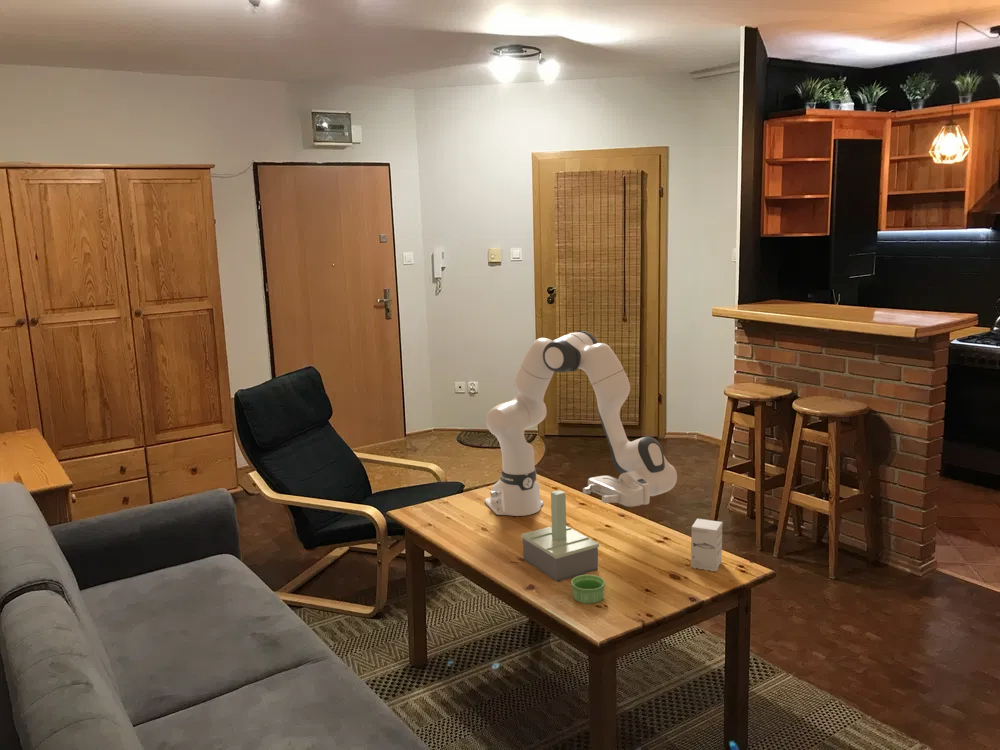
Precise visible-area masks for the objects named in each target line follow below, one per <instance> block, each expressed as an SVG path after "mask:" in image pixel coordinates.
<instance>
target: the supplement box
mask: <svg viewBox="0 0 1000 750" xmlns="http://www.w3.org/2000/svg"><path fill="white" fill-rule="evenodd" d="M690 539H691V540H690V541H691V545H690V546H691V547H690V549H691V550H690V568H691V569H696V568H698V569H697V570H702V569H704V570H703V571H708V570H710V571H709V572H713V571H716V572H717V571H718V570H719V568H720V566H721V563H722V554H723V521H717V520H710V519H705V518H703V519H702V518H696V520H695V521H694V523H693V524H692V525H691V538H690ZM719 565H720V566H719ZM692 567H693V568H692ZM718 567H719V568H718Z"/></svg>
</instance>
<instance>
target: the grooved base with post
mask: <svg viewBox="0 0 1000 750" xmlns="http://www.w3.org/2000/svg"><path fill="white" fill-rule="evenodd" d="M566 497H567V496H566V492H565V491H562V490H560V489H558V490H553V491H551V492H550V509H551V510H550V511H551V526H548V527H544V528H539V529H536V530H532V531H528V532H524V533H521V534H520V537H521V539H522V540H523V539H525V540H526V541H528V542H530V543H531V544H533V545H534V546H536V547H538V548H539V549H541V550H543V551H544V552H546V553H547V554H549V555H551V556H552V557H554V558H555V559H557V558H561V557H564V556H568V555H572V554H575V553H579V552H582V551H586V550H589V549H593V548H597V547H598V548H600V543H599V542H597V541H596V540H594V539H591V538H590V537H589V536H586V535H584V534H582V533H581V532H579V531H576V530H575V529H574V528H572V527H570V526H568V525H567V504H566V503H567V502H566Z"/></svg>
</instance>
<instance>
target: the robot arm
mask: <svg viewBox="0 0 1000 750" xmlns="http://www.w3.org/2000/svg"><path fill="white" fill-rule="evenodd" d="M578 369H580V370H582V371H583V372H584V373H585V375H586V376H587V378H588V380H589V382H590V385H591V386H592V388H593V391H594V394H595V398H596V401H597V402H596V403H597V404H596V405H597V406H596V408H597V413H598V417H599V420H600V423H601V426H602V428H603V431H604V434H605V437H606V440H607V443H608V446H609V449H610V457H611V463H612V464H613V465H612V466H613V467H614V469H615V470H616V471H617V473H620V475H619V476H618V478H616V477H613V476H611V475H600V476H599V475H598V476H593V477H589V478H587V486H586V487H585V486H584V487H583V488H582V493H583V495H590V494H591V492H592V493H595V494H598V495H599V496H601V502H602V503H604V504H610V503H613V504H614V503H615V504H616V503H617V504H620V505H622V506H624V507H629V508H632V507H638V506H642V505H643V506H645V505H649V504H650V501H651V499H650V498H651V497H655V496H658V495H662V494H664V493H667V492H670V491H671V490H672V489H673V488H675V485H676V484H677V482H678V473H677V470H676V468H675V467H674V466H673V465H672V464H671V463H669V462H668V460H667V458H666V457H665V454H664V451H663V448H662V445H661V443H660V442H659V440H657V439H656V438H654V437H652V436H647V435H646V436H643V437H640V438H637V439H635V440H632V441H630V440H629V439H628V437H627V435H626V431H625V429H624V426H623V423H622V420H621V416H620V415H621V408H622V406H623V405H624V404H625V402H626V401H627V399H628V397H629V395H630V392H631V385H630V379H629V377H628V376H627V373H626V372H625V370H624V367H623V365H622V362H621V361H620V360H619V358H618V356H617V355H616V354H615V351H614V350H613V349H612V348H611V346H610V345H608V344H607V343H603V342H598V341H597V339H596V337H595V336H594V335H593V334H592V333H590V332H588V331H586V330H585V331H584V330H578V331H577V330H576V331H574V332H570V333H567V334H566V333H565V334H564V335H562V336H560V337H557V338H556V339H553V340H552V339H550V338H546V337H540V338H537V339H536V340H534V341H533V343H532V344H531V345H530V346H529V348H528V350H527V351H526V353H525V355H524V357H523V359H522V361H521V364H520V366H519V369H518V371H517V373H516V374H515V375H516V376H515V378H514V380H513V385H514V388H515V390H516V395H515V397H514V398H512V400H509V401H506V402H501V403H499V404H497V405H496V406H493V407H492V408H491V409H489V410H488V412H487V413H486V417H485V425H486V427H487V430H488V431H489V433H491V434H492V435H493V436H494V437H495V438H496V439H497V441H498V442H499V447H500V451H501V459H502V460H501V461H502V462H501V464H502V469H500V472H499V474H500V478H499V480H498V481H497V482H496V483H494V484H493V485H492V486H491V489H490V490H491V491H490V493H489V495H490V496H489V497H486V498H485V499H484V503H485V504H486V505H487V507H489V508H490V509H491V511H492V512H493V513H494V514H495V515H497V516H512V517H514V516H515V517H519V516H521V517H523V516H530V515H533V514H535V513H539V512H540V510H542V509H541V508H542V506H543V505H544V501H543V500H541V491H540V484H539V482H538V481H537V470H536V468H535V450H534V447H533V445H532V444H530V443H529V442H527V440H526V437H525V431H526V430H528V429H530V428H535V427H536V426H537V425H539V424H540V423H541V422H543V421H544V420H545V419H546V417H547V412H548V411H547V406H546V403H545V402H544V401H545V398H544V397H545V395H546V391H547V388H548V387H549V385H550V382H551V380H552V378H553V375H554V374H555V373H567V372H577V370H578Z"/></svg>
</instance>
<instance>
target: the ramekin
mask: <svg viewBox="0 0 1000 750" xmlns="http://www.w3.org/2000/svg"><path fill="white" fill-rule="evenodd" d="M570 581H571V582H570V584H571V588H572V597H573V598H574V600H575V601H577V602H579V603H581V604H586V605H588V604H590V605H591V604H597V603H599V602H602V600H603V599H604V595H605V586H606V581H605V579H604V578H603V577H601V576H598V575H596V574H582V575H579V576H576V577H572V578H571V580H570Z"/></svg>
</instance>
